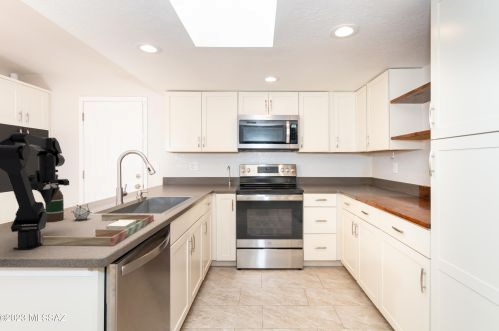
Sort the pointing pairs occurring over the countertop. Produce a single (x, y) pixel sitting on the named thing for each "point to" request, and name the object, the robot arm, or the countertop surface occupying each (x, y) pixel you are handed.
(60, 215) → the beer bottle
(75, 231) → the countertop surface
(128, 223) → the white rectangular box
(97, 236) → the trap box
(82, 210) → the geometric wire polyhedron
